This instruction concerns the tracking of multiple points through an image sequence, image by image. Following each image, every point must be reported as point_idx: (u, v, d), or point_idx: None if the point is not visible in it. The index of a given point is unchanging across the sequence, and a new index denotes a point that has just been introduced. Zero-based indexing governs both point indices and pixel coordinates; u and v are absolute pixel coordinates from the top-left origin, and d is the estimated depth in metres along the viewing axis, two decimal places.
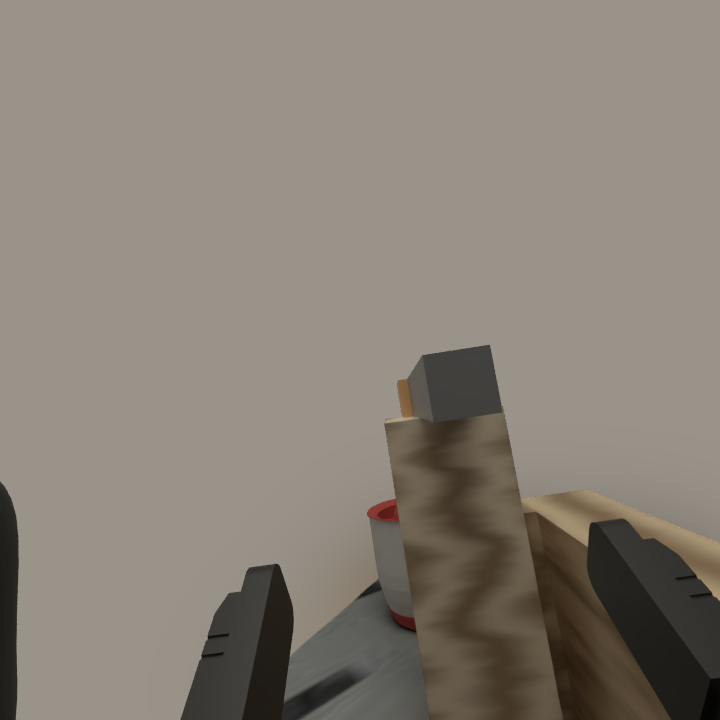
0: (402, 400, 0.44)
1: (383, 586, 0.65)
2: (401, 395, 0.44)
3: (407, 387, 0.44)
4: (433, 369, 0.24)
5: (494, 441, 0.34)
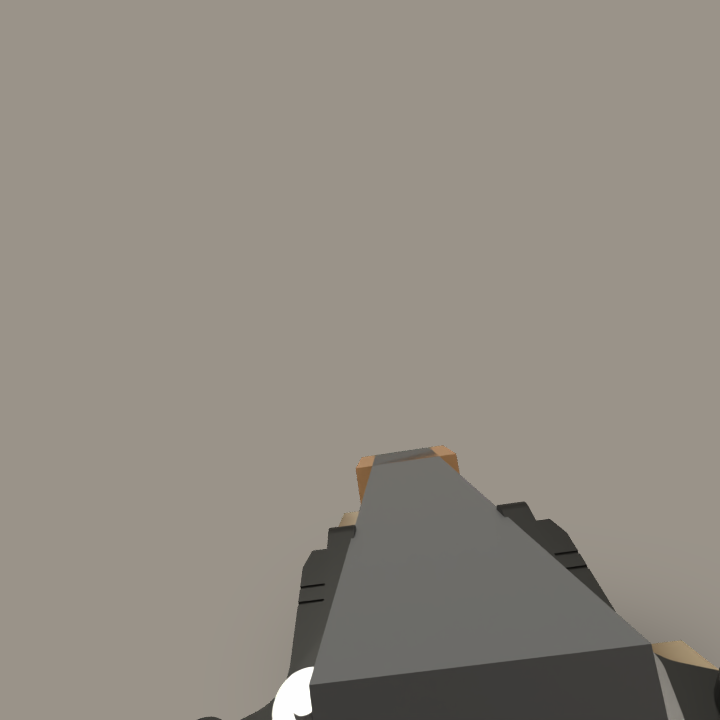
0: None
1: None
2: (361, 496, 0.25)
3: None
4: None
5: None
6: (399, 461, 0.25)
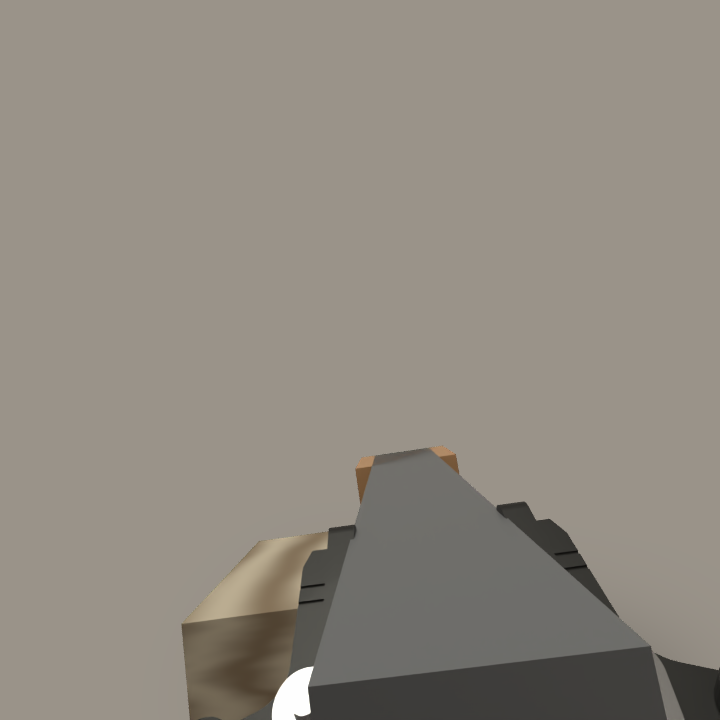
0: None
1: None
2: (361, 496, 0.25)
3: None
4: None
5: None
6: (399, 461, 0.25)
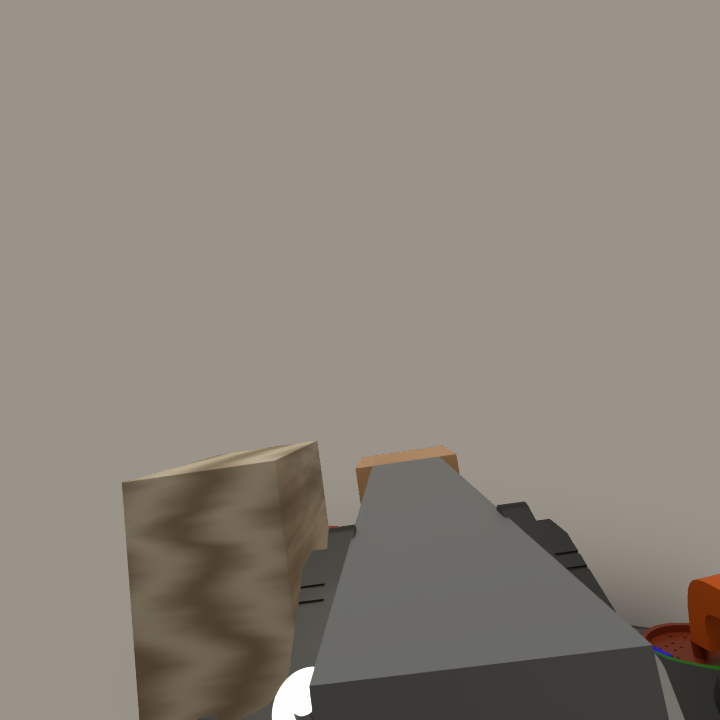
0: None
1: None
2: (361, 496, 0.25)
3: None
4: None
5: (260, 508, 0.26)
6: (399, 461, 0.25)
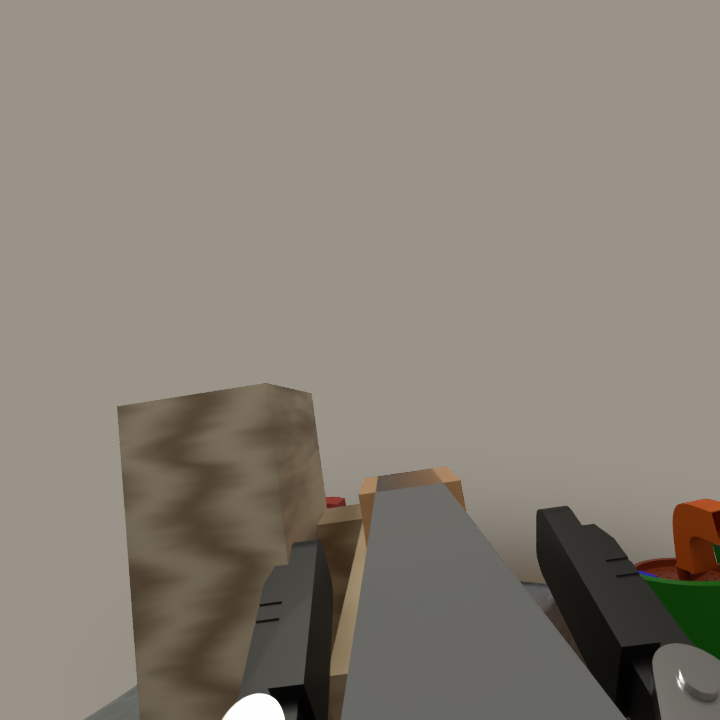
0: (366, 532, 0.24)
1: None
2: (364, 523, 0.24)
3: None
4: None
5: (252, 429, 0.26)
6: (403, 487, 0.25)
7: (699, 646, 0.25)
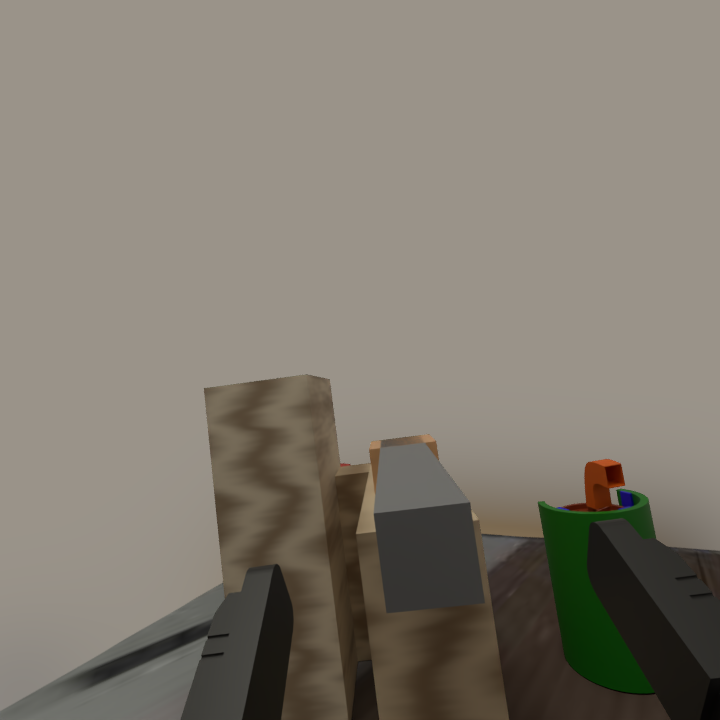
0: (373, 473, 0.37)
1: None
2: (372, 467, 0.37)
3: None
4: (388, 535, 0.17)
5: (297, 405, 0.39)
6: (398, 445, 0.37)
7: None
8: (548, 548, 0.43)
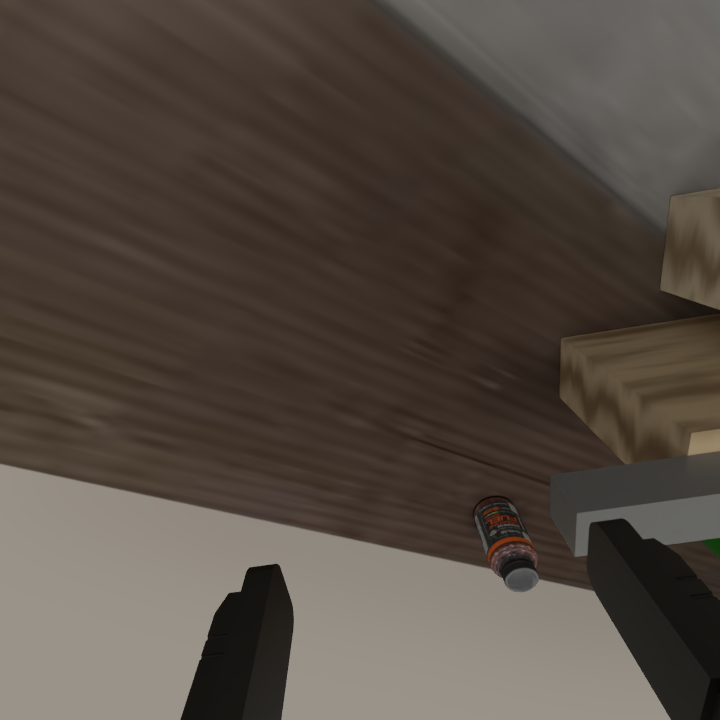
0: None
1: None
2: None
3: None
4: (569, 509, 0.29)
5: None
6: None
7: None
8: None
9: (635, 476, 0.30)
